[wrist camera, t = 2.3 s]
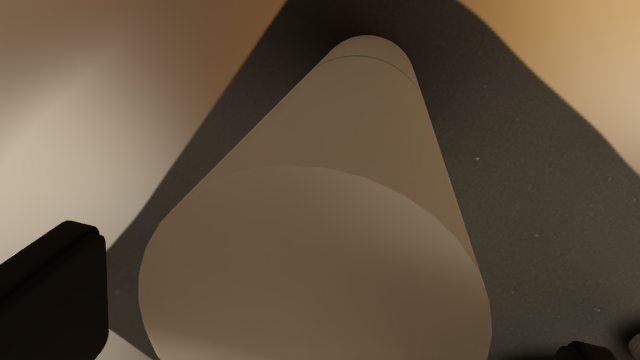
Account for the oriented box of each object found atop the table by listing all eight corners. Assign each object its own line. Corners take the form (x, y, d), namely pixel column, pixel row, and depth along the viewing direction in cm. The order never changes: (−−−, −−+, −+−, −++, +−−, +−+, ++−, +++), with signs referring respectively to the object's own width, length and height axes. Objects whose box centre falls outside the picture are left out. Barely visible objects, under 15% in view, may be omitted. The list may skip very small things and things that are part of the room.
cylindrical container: (297, 92, 32) (83, 326, 10) (360, 12, 30) (266, 77, 7) (370, 152, 33) (330, 491, 11) (437, 80, 31) (578, 334, 8)
